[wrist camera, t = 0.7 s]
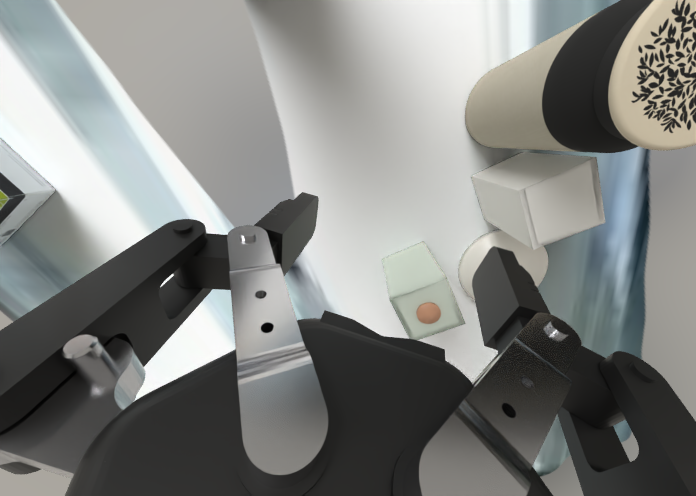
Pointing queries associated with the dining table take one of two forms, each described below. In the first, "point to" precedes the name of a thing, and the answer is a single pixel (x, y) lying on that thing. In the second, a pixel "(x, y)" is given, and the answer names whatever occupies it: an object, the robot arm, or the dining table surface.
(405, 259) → the pale grey boxy piece
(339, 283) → the dining table surface
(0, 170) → the tea box
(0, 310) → the dining table surface
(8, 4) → the dining table surface
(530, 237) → the tall white lidded box
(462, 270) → the dish
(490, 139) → the travel mug
